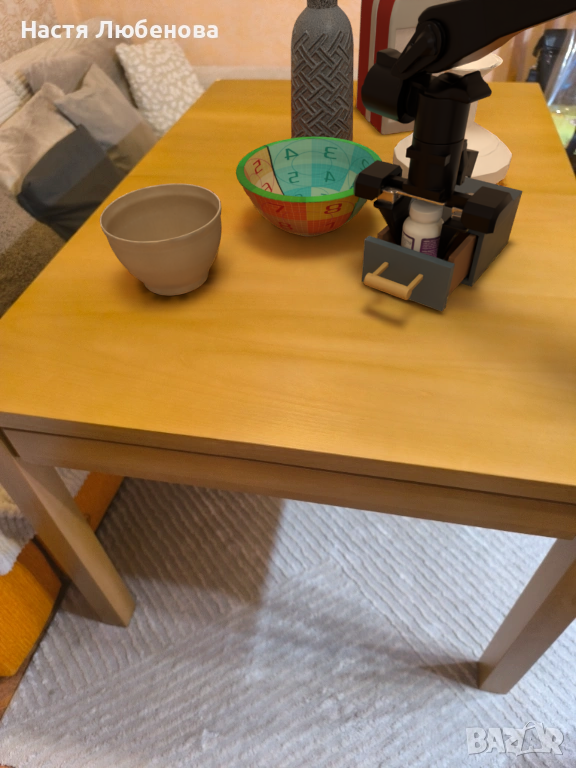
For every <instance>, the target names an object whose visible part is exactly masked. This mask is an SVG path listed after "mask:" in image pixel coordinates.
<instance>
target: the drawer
mask: <svg viewBox="0 0 576 768" xmlns="http://www.w3.org/2000/svg"><path fill="white" fill-rule="evenodd" d="M409 216H410V215H408V217H409ZM478 237H479V236H477V235H474V234H470V233H467V232H466V233H459V234H458V236H457V237H456V239H455V240H454V242H453V244H452V245H451V247H450V249H449V250H448V252H447V254H446V255H445V257H444V259H443V260H442V259H439V258H436V257H433V256H430V255H427V254H424V253H421V252H418V251H415V250H412V249H409V248H405V247H402V246H399V245H396V243H395V241H394V238H393V236H392V234H391V231H390V229H389V227H388V225H387V224H386V226H384V227H383V228H382V229H381V230H379V232H378V233H377V236H376V237H374V236H372V235H368V236H367V237H365V238H364V240H363V252H362V253H363V257H362V270H361V283H363V284H364V286H367V287H370V288H373V289H375V290H378V291H381V292H383V293H386V294H389V295H391V296H394V297H396V298H399V299H401V300H405V301H408V300H410V301H413V302H415V303H417V304H420V305H422V306H425V307H427V308H431V309H433V310H436V311H439V312H444V310H445V309H446V308H447V305H448V299H449V297H450V296H451V294H452V293H453V292H454V291H455V290H456V289H457V287H458V286H459V285H460V284H461V283H460V282H461V281H462V280H463V279H464V278H465V277H466V275H467V274H468V273H469V272H470V271H471V266H472V262H473V258H474V254H475V250H476V246H477V242H478Z"/></svg>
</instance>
